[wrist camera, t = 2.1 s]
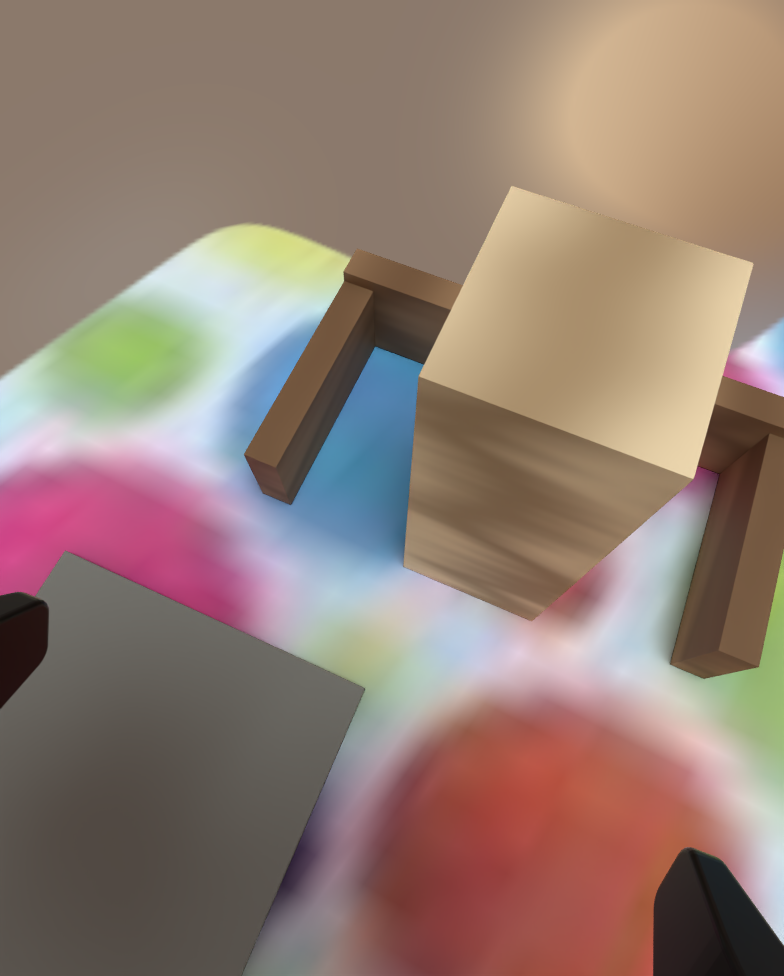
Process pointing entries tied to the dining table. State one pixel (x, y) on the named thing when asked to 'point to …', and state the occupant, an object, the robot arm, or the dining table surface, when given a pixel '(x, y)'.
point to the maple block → (563, 399)
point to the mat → (153, 784)
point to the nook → (726, 450)
